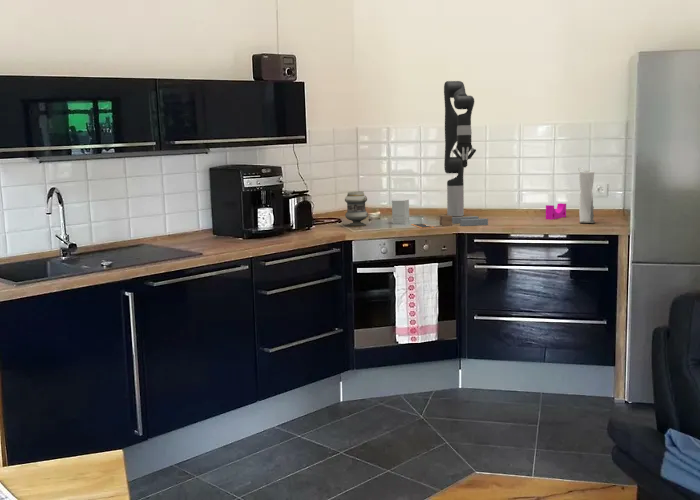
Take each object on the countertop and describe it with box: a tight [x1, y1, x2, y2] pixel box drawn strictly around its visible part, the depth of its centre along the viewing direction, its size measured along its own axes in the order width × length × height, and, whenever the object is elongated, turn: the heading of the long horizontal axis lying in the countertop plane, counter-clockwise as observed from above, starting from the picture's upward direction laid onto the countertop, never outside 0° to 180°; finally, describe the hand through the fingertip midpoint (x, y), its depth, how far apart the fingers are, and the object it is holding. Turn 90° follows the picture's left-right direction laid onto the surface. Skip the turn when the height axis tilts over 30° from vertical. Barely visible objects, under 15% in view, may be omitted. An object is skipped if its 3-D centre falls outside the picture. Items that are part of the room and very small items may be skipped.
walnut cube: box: [439, 214, 453, 227], centre depth 413 cm, size 5×5×5 cm
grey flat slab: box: [452, 215, 489, 227], centre depth 416 cm, size 16×14×3 cm
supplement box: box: [391, 198, 410, 225], centre depth 427 cm, size 7×7×13 cm
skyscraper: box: [578, 167, 596, 224], centre depth 411 cm, size 8×8×28 cm
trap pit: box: [410, 223, 436, 229], centre depth 411 cm, size 18×7×1 cm, turn 12°
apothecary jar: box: [344, 190, 369, 228], centre depth 419 cm, size 12×12×18 cm
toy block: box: [545, 202, 567, 221], centre depth 437 cm, size 15×6×8 cm, turn 136°
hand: (464, 167), depth 423 cm, fingers closed
